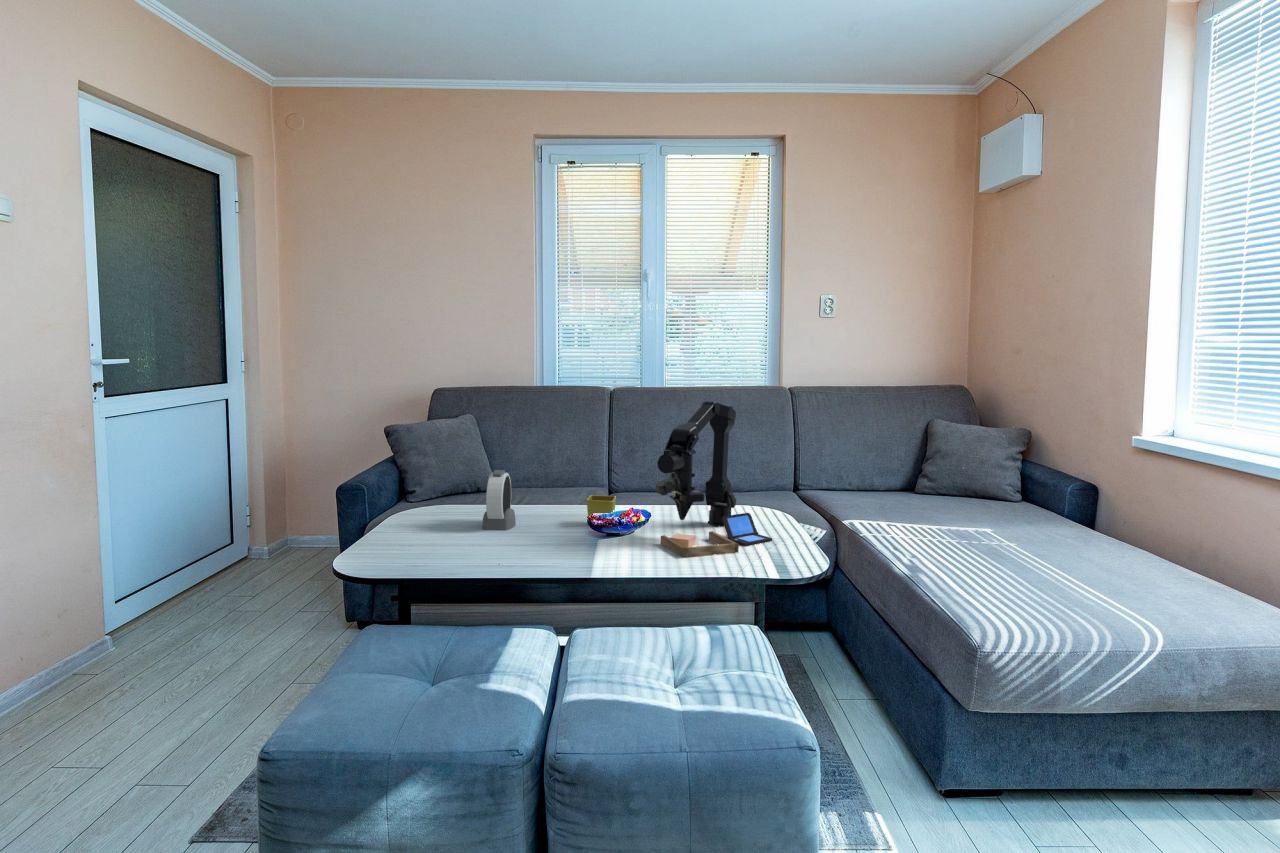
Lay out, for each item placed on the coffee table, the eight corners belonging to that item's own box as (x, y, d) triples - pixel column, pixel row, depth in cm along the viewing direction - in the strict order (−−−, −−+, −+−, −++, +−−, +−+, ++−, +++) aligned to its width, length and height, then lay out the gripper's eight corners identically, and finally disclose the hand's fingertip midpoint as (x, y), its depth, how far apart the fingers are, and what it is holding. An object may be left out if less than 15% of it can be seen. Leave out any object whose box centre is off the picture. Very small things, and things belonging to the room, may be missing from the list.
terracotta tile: (695, 545, 234) (695, 535, 234) (688, 550, 229) (688, 539, 228) (676, 543, 237) (676, 533, 236) (669, 547, 231) (669, 537, 231)
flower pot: (616, 522, 262) (616, 495, 261) (612, 528, 253) (613, 500, 252) (590, 521, 263) (590, 494, 262) (585, 527, 254) (586, 499, 253)
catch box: (712, 539, 241) (712, 531, 240) (738, 552, 226) (738, 543, 225) (660, 543, 234) (660, 535, 234) (684, 557, 219) (684, 548, 219)
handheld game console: (744, 547, 232) (745, 523, 231) (720, 540, 241) (720, 516, 240) (774, 541, 240) (774, 518, 239) (748, 534, 248) (749, 511, 248)
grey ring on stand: (510, 532, 246) (510, 474, 244) (477, 531, 246) (477, 474, 244) (519, 520, 262) (519, 466, 260) (488, 519, 262) (488, 466, 260)
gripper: (646, 466, 244) (645, 515, 245) (671, 475, 226) (670, 528, 228) (679, 464, 248) (678, 512, 249) (706, 473, 231) (704, 525, 232)
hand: (681, 519), depth 240 cm, fingers closed
